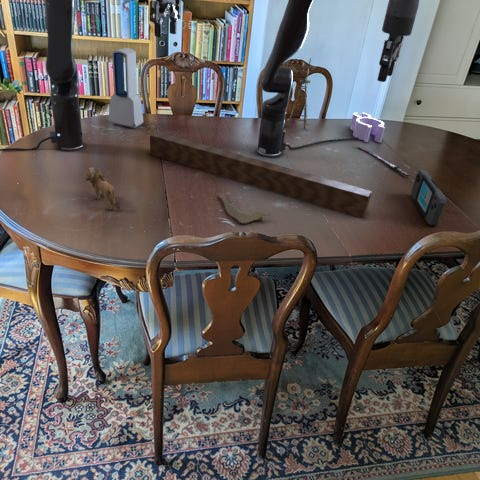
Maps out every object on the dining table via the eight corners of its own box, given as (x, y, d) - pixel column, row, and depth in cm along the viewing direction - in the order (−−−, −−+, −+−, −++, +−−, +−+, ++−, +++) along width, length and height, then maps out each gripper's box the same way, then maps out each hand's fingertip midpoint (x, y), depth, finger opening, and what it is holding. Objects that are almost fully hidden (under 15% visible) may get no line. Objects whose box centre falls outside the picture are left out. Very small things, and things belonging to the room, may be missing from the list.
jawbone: (251, 231, 136) (251, 225, 134) (200, 206, 146) (200, 200, 145) (270, 218, 141) (270, 213, 140) (219, 195, 152) (219, 189, 150)
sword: (412, 176, 179) (413, 173, 178) (406, 177, 178) (407, 174, 177) (361, 148, 202) (362, 145, 201) (356, 149, 201) (356, 146, 200)
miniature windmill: (304, 129, 213) (316, 61, 197) (286, 126, 214) (297, 58, 198) (306, 123, 221) (318, 57, 205) (288, 120, 222) (299, 54, 206)
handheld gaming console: (409, 194, 166) (417, 168, 160) (416, 194, 166) (425, 168, 160) (428, 227, 146) (439, 199, 141) (437, 228, 147) (448, 200, 141)
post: (366, 212, 152) (372, 191, 147) (362, 218, 148) (368, 196, 144) (157, 150, 178) (157, 131, 174) (150, 154, 174) (149, 135, 170)
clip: (343, 126, 223) (346, 112, 219) (367, 127, 225) (371, 113, 221) (360, 142, 206) (364, 127, 202) (386, 142, 209) (390, 127, 205)
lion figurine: (83, 195, 144) (80, 168, 139) (97, 189, 147) (95, 163, 142) (112, 213, 136) (111, 185, 131) (127, 207, 140) (126, 180, 135)
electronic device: (143, 124, 200) (142, 50, 183) (134, 129, 194) (132, 53, 177) (118, 119, 203) (114, 45, 186) (108, 124, 196) (104, 48, 180)
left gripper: (168, -24, 150) (168, 31, 159) (141, -23, 139) (143, 35, 148) (188, -21, 147) (187, 34, 156) (163, -20, 136) (162, 39, 145)
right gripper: (391, 9, 126) (376, 71, 135) (380, 13, 115) (365, 80, 124) (419, 13, 124) (402, 76, 133) (411, 18, 113) (393, 86, 122)
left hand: (165, 35), depth 152 cm, fingers open, 8 cm apart
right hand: (384, 78), depth 128 cm, fingers open, 8 cm apart
